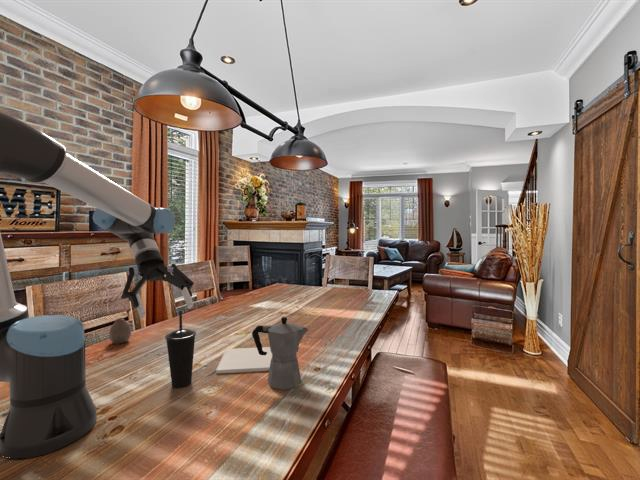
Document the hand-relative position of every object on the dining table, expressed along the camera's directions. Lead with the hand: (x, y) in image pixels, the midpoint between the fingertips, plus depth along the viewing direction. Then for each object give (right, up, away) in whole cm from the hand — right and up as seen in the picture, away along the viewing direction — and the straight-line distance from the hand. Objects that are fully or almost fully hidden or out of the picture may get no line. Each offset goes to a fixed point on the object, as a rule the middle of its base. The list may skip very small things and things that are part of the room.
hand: (168, 310), depth 90 cm
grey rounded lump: (-30, -18, +25) cm, 43 cm away
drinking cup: (+7, -19, -6) cm, 21 cm away
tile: (+21, -18, +9) cm, 29 cm away
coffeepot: (+33, -19, -5) cm, 39 cm away
